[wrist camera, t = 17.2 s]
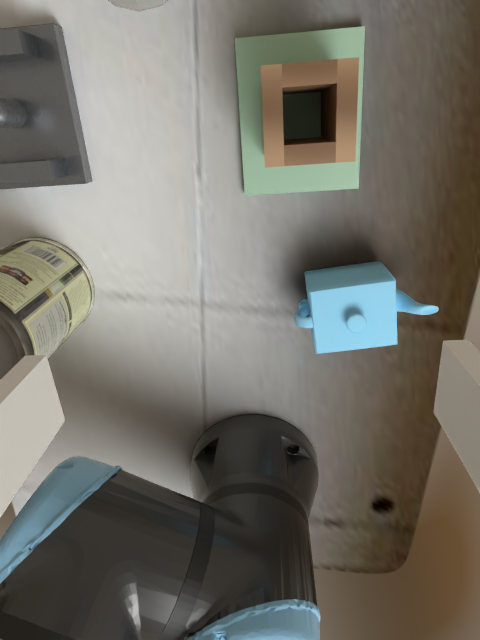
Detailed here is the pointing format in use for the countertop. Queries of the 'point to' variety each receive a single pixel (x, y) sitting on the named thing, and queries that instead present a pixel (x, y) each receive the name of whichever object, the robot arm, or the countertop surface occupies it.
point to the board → (293, 109)
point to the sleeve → (336, 111)
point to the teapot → (354, 307)
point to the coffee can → (40, 298)
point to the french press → (138, 4)
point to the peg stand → (38, 111)
